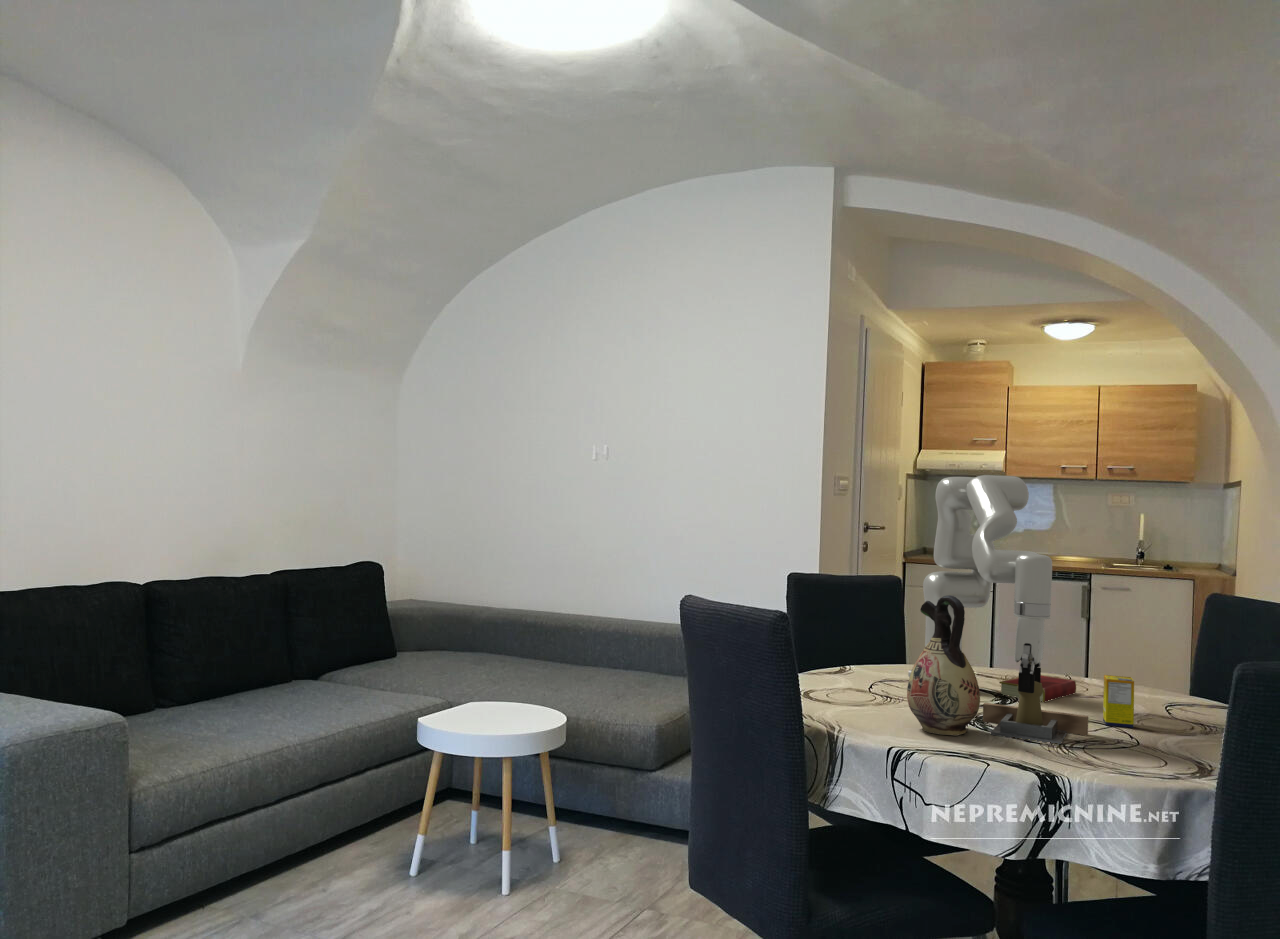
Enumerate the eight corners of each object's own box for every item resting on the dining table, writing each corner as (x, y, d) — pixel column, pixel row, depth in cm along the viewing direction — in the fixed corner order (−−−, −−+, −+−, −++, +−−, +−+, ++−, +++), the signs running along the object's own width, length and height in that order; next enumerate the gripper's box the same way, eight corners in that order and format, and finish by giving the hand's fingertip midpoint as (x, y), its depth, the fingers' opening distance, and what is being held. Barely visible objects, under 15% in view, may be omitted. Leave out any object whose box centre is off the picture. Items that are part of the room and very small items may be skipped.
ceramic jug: (891, 724, 221) (895, 590, 221) (948, 721, 226) (952, 590, 227) (939, 743, 205) (943, 598, 206) (999, 739, 210) (1003, 598, 211)
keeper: (990, 734, 214) (991, 720, 214) (1000, 724, 225) (1000, 711, 225) (1060, 744, 208) (1060, 729, 208) (1066, 733, 218) (1067, 719, 218)
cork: (1009, 727, 219) (1010, 677, 220) (1036, 728, 220) (1037, 678, 220) (1021, 734, 213) (1023, 683, 214) (1048, 734, 214) (1050, 683, 214)
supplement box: (1130, 723, 232) (1131, 676, 232) (1133, 728, 226) (1134, 680, 227) (1102, 720, 234) (1103, 674, 234) (1105, 725, 228) (1106, 678, 229)
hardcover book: (1076, 695, 268) (1076, 679, 268) (1044, 704, 253) (1044, 687, 253) (1032, 688, 277) (1032, 672, 277) (999, 696, 262) (999, 680, 262)
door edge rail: (982, 721, 228) (983, 703, 228) (984, 719, 229) (984, 702, 230) (1087, 735, 217) (1087, 717, 217) (1087, 734, 219) (1088, 715, 219)
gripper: (1020, 605, 226) (1017, 680, 226) (1007, 612, 211) (1004, 692, 211) (1055, 608, 223) (1052, 684, 223) (1045, 616, 208) (1042, 697, 208)
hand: (1029, 688), depth 217 cm, fingers open, 9 cm apart
